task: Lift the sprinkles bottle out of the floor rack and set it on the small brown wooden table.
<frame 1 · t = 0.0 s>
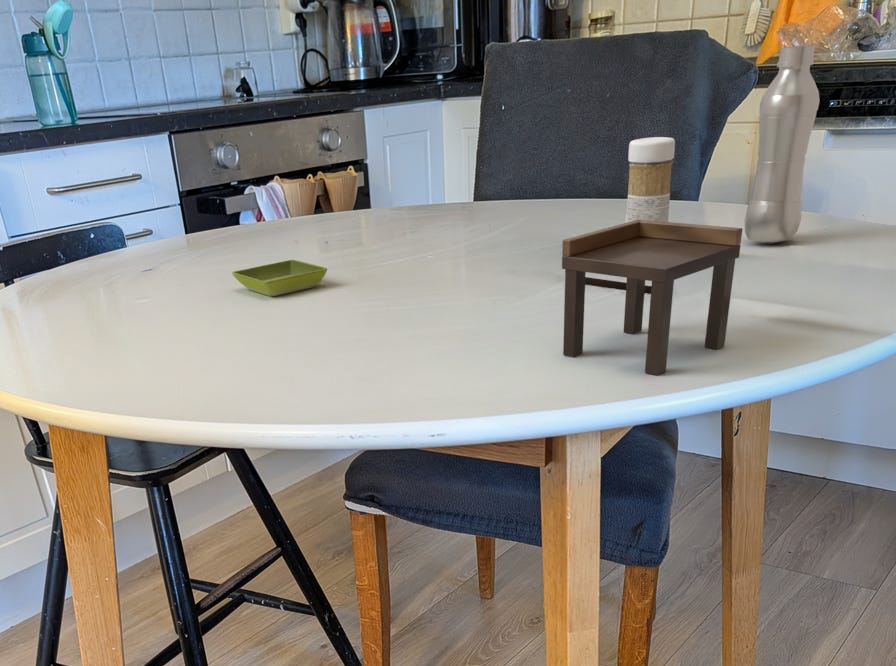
sprinkles bottle: (642, 280, 96), resting in floor rack
small brown wooden table: (643, 350, 74), on the table
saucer: (282, 290, 105), on the table
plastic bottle: (768, 244, 107), on the table
floor rack: (642, 278, 96), on the table
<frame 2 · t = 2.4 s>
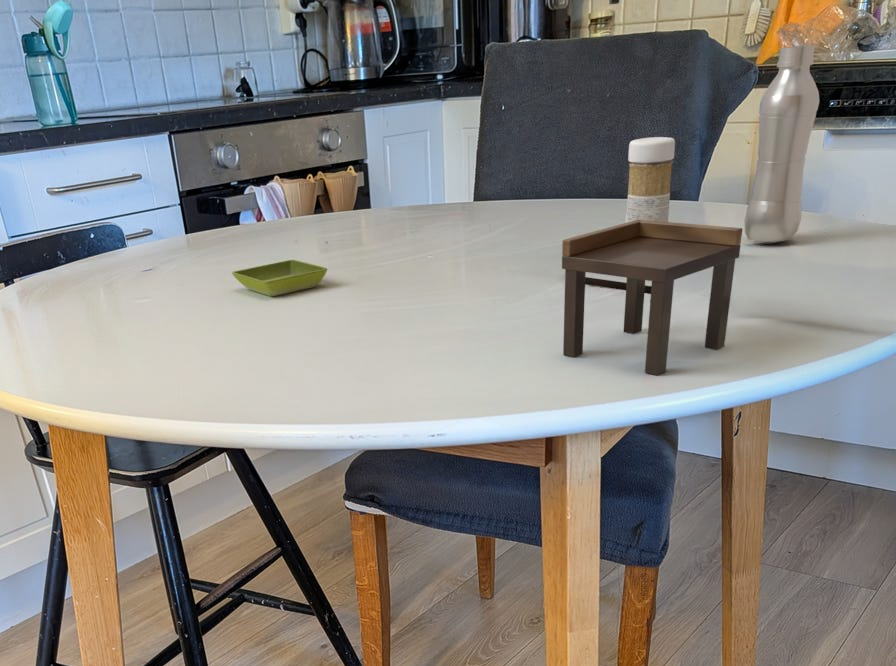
nothing on the table moved.
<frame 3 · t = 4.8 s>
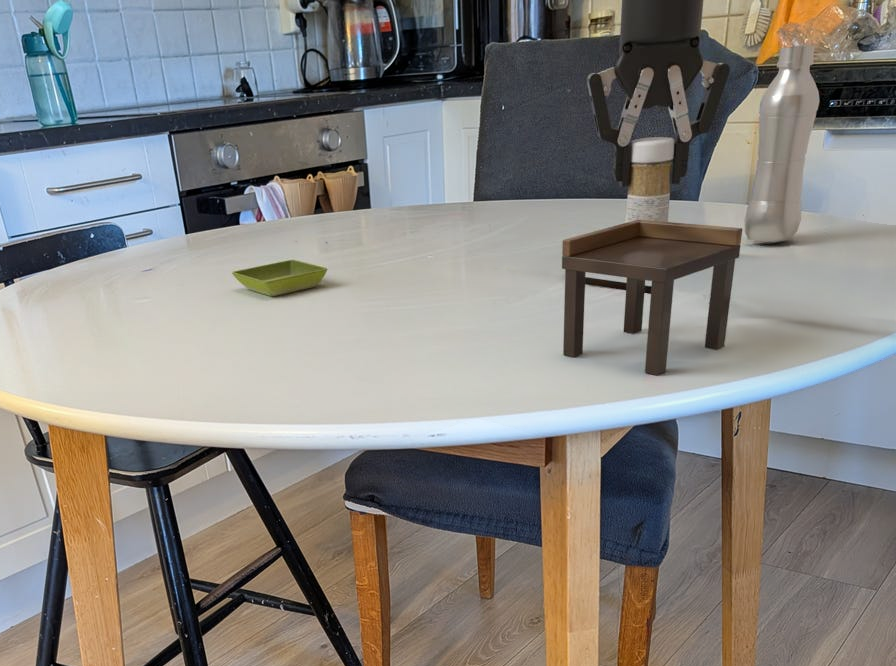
hand: (649, 183, 91), 9 cm above the table, tool pointing down, fingers closed on sprinkles bottle, 4 cm apart
sprinkles bottle: (642, 280, 96), resting in floor rack, touching gripper
everything else where it was.
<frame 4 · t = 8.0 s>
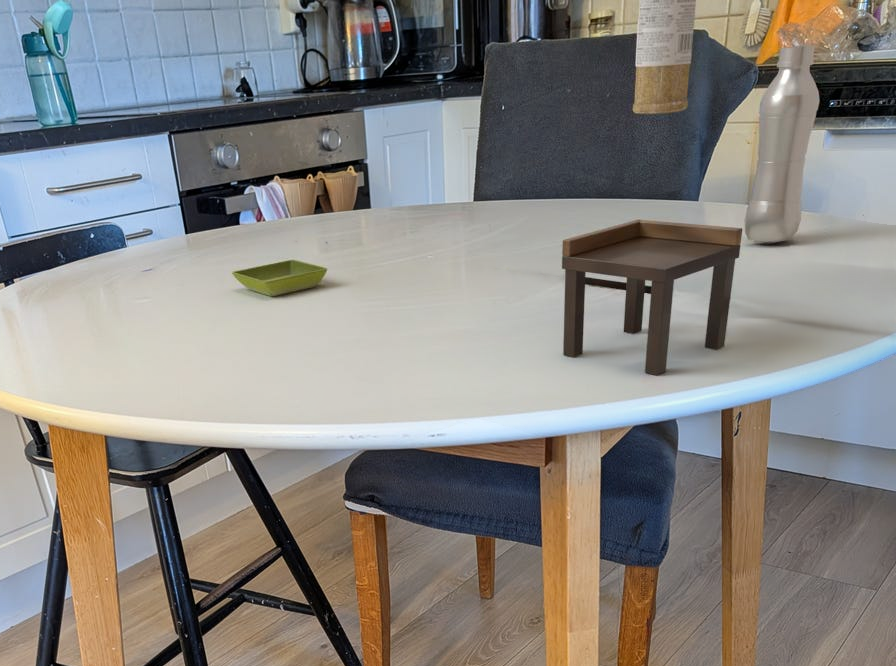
sprinkles bottle: (659, 115, 73), point 17 cm above the table, touching gripper
everything else where it was.
when the fingers open (17 cm above the table, at t = 11.2 s): sprinkles bottle stays where it is, resting on small brown wooden table.
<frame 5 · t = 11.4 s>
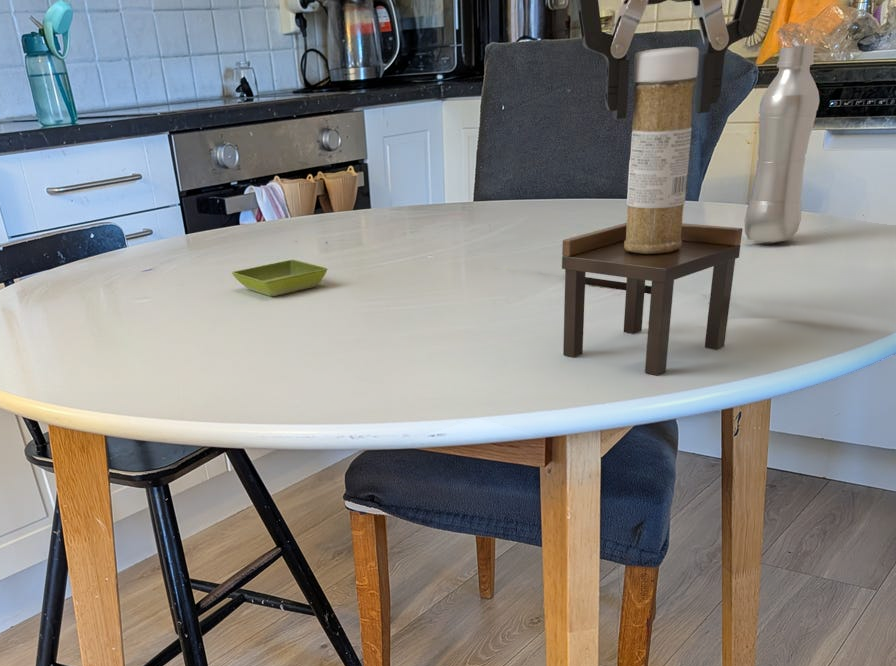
hand: (661, 114, 65), 17 cm above the table, tool pointing down, fingers open, 5 cm apart
sprinkles bottle: (651, 252, 70), point 8 cm above the table, touching small brown wooden table
everything else where it was.
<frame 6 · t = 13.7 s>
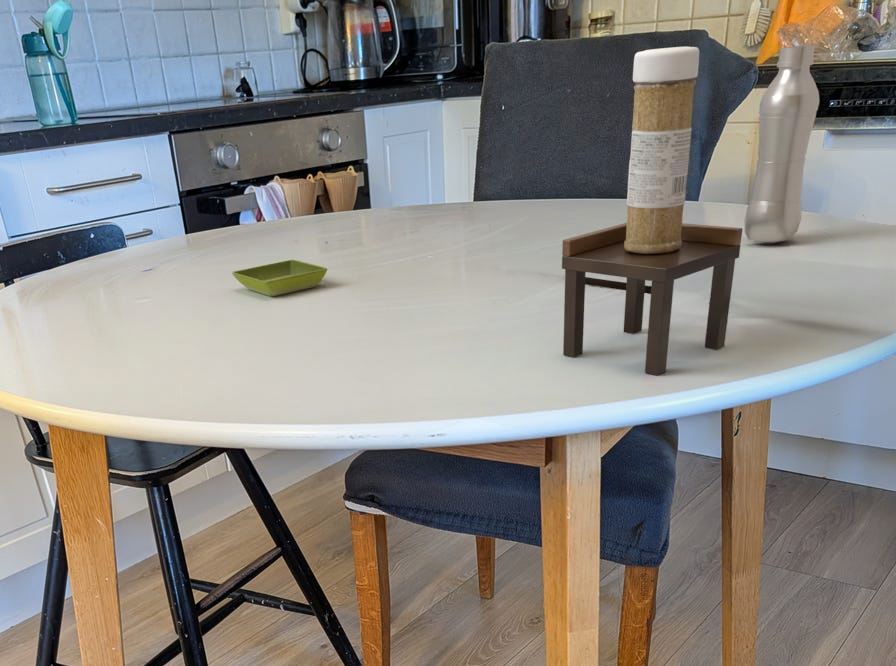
nothing on the table moved.
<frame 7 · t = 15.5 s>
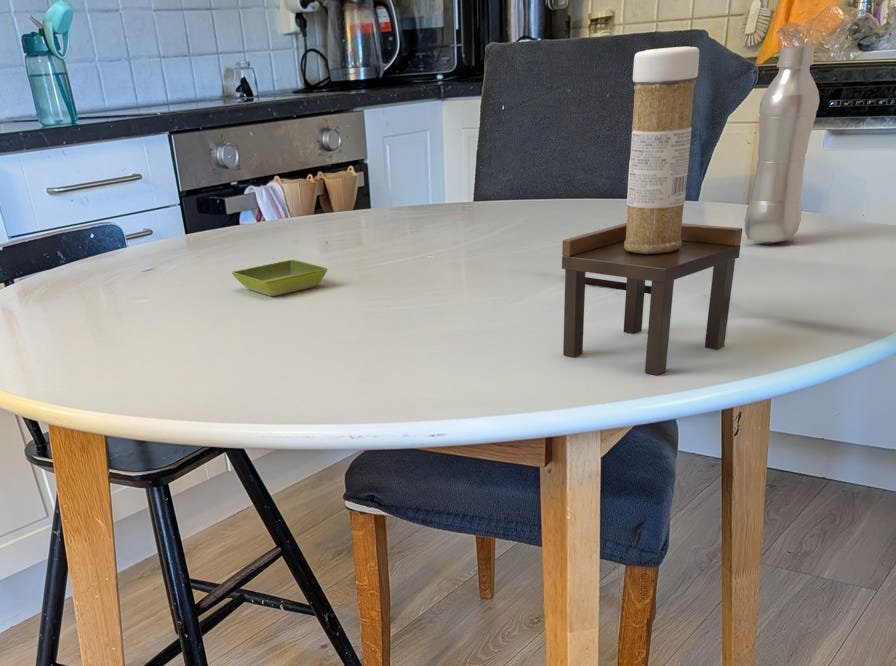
nothing on the table moved.
at the end: sprinkles bottle 0.1 cm off-centre on the small brown wooden table, point 7.8 cm above the small brown wooden table's base; sprinkles bottle tilted 0°; the gripper is holding nothing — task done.
